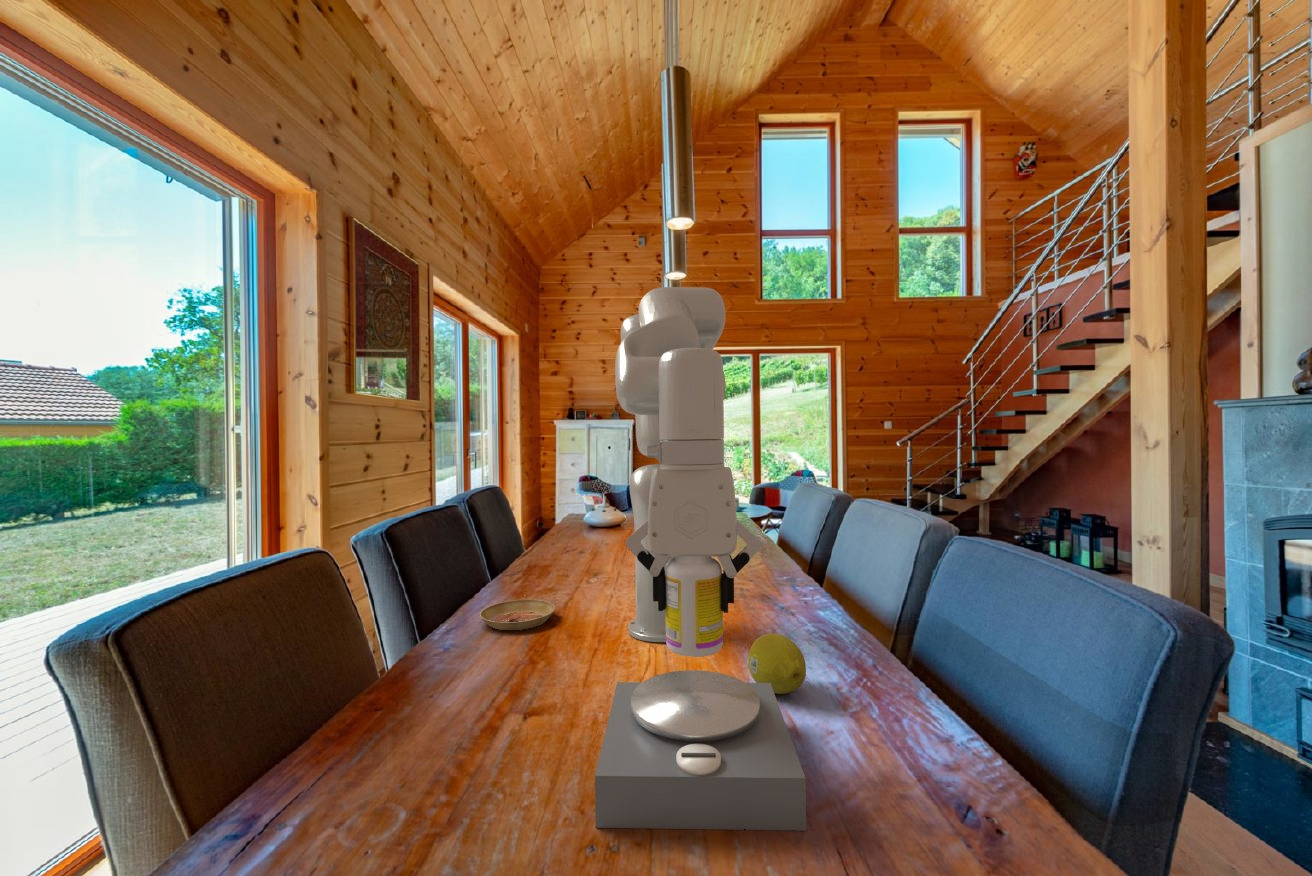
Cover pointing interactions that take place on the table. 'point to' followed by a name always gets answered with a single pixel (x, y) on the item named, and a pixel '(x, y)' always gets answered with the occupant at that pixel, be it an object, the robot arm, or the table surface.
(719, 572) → the supplement bottle
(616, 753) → the kitchen scale
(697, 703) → the scale pan
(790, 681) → the lemon
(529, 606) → the plant saucer
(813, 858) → the table surface
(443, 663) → the table surface
